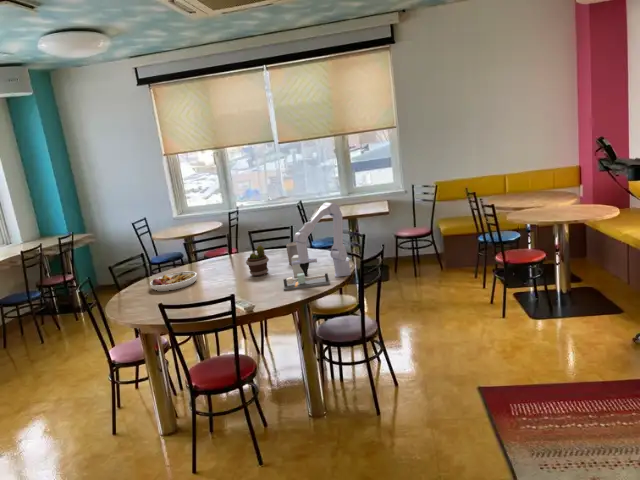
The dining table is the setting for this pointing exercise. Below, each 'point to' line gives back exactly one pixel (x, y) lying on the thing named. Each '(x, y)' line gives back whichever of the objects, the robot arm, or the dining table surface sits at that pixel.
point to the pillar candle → (291, 250)
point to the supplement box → (296, 266)
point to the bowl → (173, 281)
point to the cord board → (306, 282)
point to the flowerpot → (258, 262)
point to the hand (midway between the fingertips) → (306, 275)
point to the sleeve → (301, 278)
